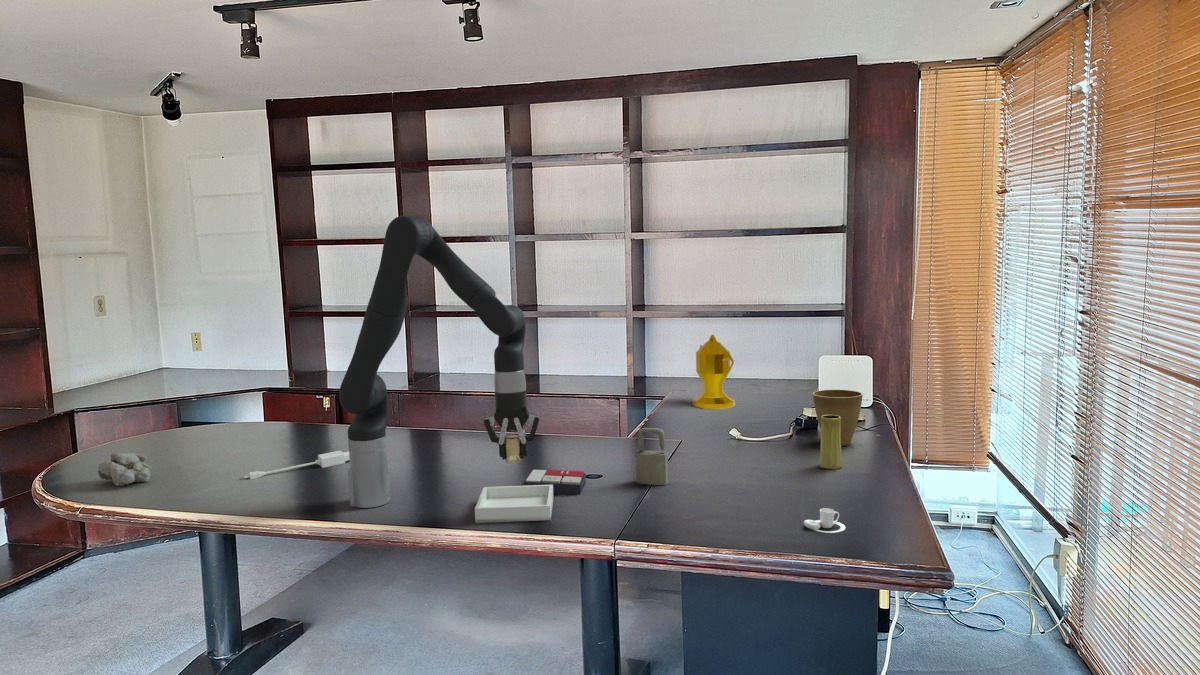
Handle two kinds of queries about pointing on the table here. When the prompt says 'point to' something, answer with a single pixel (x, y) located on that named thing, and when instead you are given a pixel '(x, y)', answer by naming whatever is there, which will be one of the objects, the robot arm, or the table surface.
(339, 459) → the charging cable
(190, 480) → the table surface
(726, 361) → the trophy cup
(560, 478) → the calculator
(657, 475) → the padlock
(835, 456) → the vase
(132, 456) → the mineral
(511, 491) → the tray
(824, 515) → the teacup and saucer
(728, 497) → the table surface
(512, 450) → the cylinder
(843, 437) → the plant pot
